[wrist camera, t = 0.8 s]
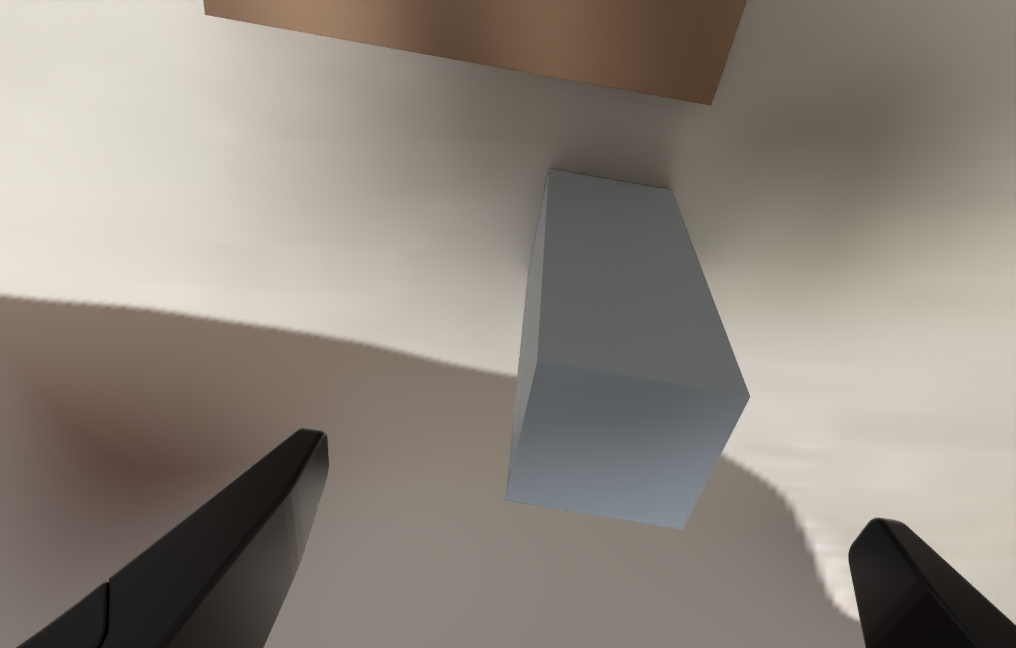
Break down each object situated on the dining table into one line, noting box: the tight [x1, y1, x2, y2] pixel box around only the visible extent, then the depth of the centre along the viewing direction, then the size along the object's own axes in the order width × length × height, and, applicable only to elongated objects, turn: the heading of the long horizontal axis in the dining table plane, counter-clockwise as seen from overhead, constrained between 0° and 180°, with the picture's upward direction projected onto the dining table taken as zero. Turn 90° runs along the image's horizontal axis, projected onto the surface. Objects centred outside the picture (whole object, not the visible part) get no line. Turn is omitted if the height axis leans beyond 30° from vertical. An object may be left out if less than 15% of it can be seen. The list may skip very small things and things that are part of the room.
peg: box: [505, 169, 750, 530], centre depth 16 cm, size 4×4×10 cm
